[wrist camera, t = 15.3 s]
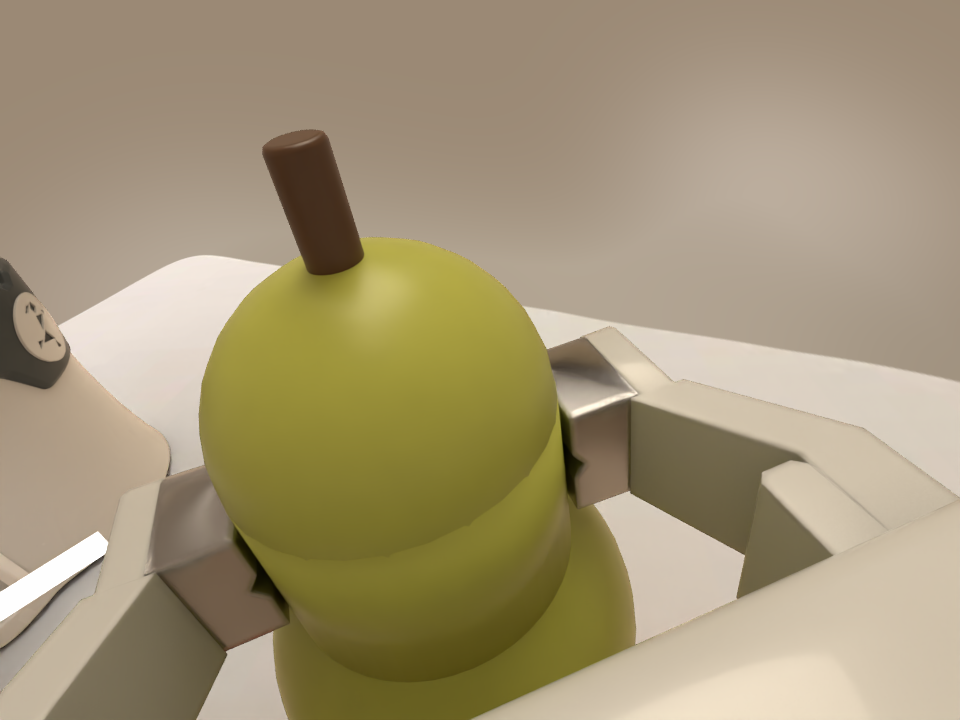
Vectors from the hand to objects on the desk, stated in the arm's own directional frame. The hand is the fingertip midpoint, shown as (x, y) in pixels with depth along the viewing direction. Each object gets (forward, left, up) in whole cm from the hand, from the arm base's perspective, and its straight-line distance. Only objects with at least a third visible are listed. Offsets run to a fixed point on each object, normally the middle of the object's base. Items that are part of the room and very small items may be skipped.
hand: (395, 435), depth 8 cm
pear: (0, -1, -7) cm, 7 cm away
